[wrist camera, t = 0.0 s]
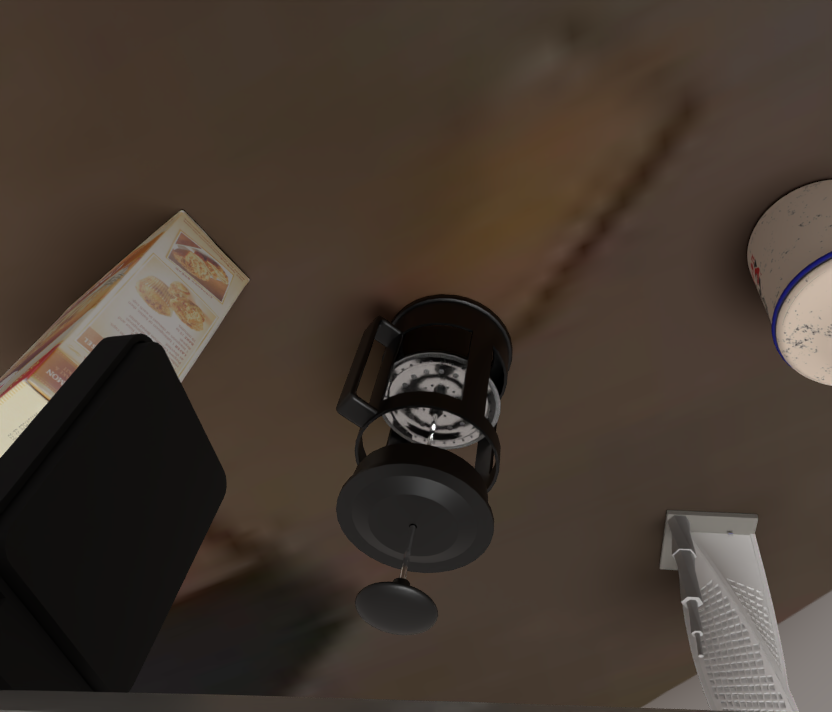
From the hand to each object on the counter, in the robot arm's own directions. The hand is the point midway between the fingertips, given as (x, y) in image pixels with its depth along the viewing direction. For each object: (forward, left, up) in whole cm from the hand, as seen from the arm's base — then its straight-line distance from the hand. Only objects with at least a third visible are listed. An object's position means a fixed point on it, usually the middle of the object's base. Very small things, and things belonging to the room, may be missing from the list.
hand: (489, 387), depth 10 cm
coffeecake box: (+17, -31, -37) cm, 51 cm away
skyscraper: (+47, +9, -37) cm, 61 cm away
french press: (+24, -10, -37) cm, 45 cm away
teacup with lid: (+20, +16, -37) cm, 45 cm away
